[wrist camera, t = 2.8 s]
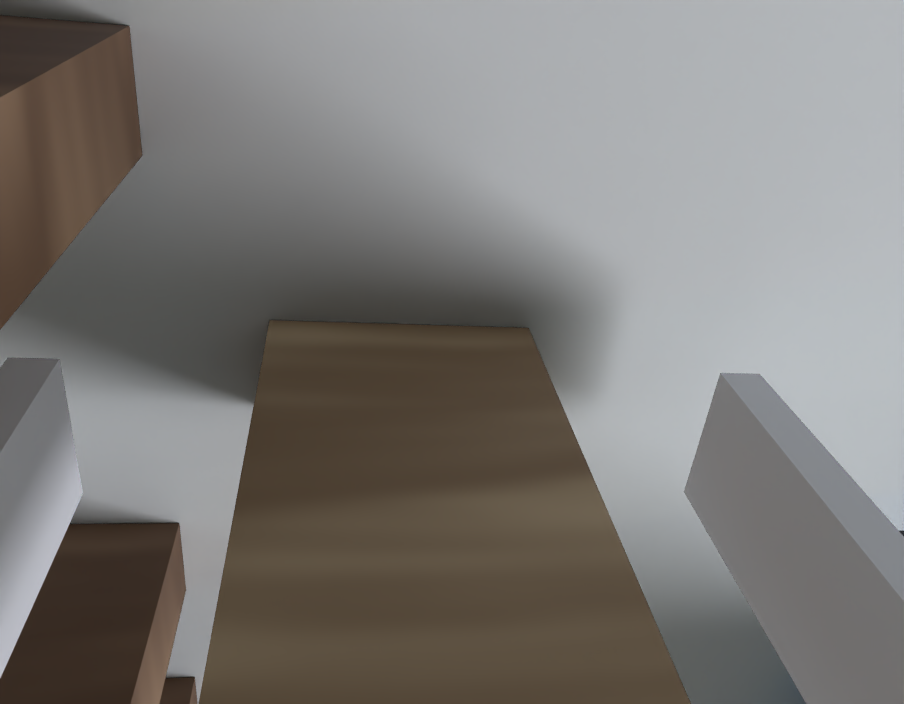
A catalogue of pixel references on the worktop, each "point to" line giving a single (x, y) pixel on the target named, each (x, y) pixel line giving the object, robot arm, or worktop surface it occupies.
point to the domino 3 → (179, 691)
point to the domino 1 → (59, 139)
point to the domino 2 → (101, 619)
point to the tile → (423, 533)
